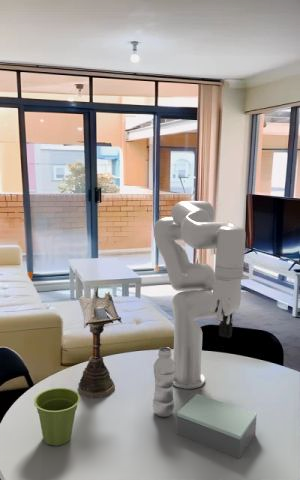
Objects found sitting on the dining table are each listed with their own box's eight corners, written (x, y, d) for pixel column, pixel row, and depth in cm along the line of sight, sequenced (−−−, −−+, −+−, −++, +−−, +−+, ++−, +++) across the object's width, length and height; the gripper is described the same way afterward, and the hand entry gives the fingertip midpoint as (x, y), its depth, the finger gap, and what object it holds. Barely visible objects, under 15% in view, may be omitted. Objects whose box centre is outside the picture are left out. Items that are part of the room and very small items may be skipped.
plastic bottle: (159, 422, 119) (161, 356, 116) (148, 410, 125) (149, 347, 122) (178, 416, 122) (180, 352, 119) (166, 405, 128) (168, 343, 125)
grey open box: (176, 433, 114) (177, 416, 114) (196, 413, 124) (197, 397, 124) (238, 458, 105) (240, 440, 104) (255, 434, 115) (256, 417, 114)
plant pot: (58, 458, 103) (57, 416, 101) (25, 441, 109) (24, 402, 108) (89, 434, 113) (89, 395, 111) (57, 420, 119) (56, 383, 118)
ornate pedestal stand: (127, 401, 130) (129, 292, 124) (86, 408, 125) (86, 296, 120) (113, 377, 145) (114, 279, 140) (76, 382, 141) (75, 281, 135)
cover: (177, 415, 114) (177, 412, 113) (197, 396, 123) (197, 393, 123) (240, 439, 104) (240, 436, 104) (256, 417, 114) (256, 413, 114)
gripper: (227, 265, 121) (223, 325, 124) (204, 275, 109) (200, 341, 112) (252, 269, 117) (247, 331, 120) (231, 279, 105) (227, 348, 108)
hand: (225, 335), depth 116 cm, fingers closed
